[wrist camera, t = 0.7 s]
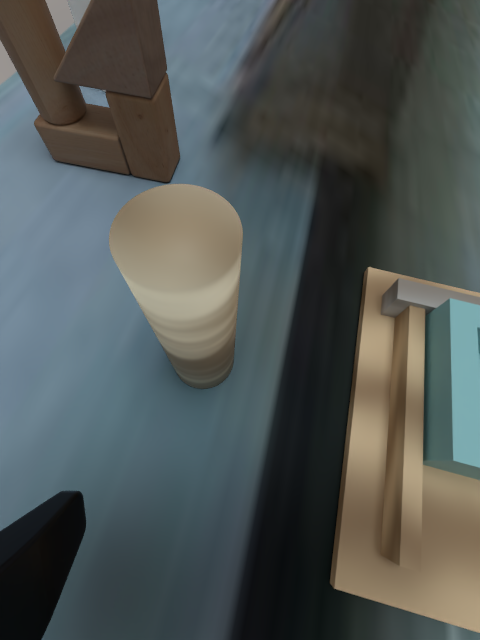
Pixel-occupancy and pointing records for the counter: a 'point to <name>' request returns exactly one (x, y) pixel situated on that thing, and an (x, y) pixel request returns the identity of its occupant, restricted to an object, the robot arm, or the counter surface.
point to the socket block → (452, 388)
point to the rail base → (402, 469)
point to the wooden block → (98, 84)
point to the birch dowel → (184, 274)
